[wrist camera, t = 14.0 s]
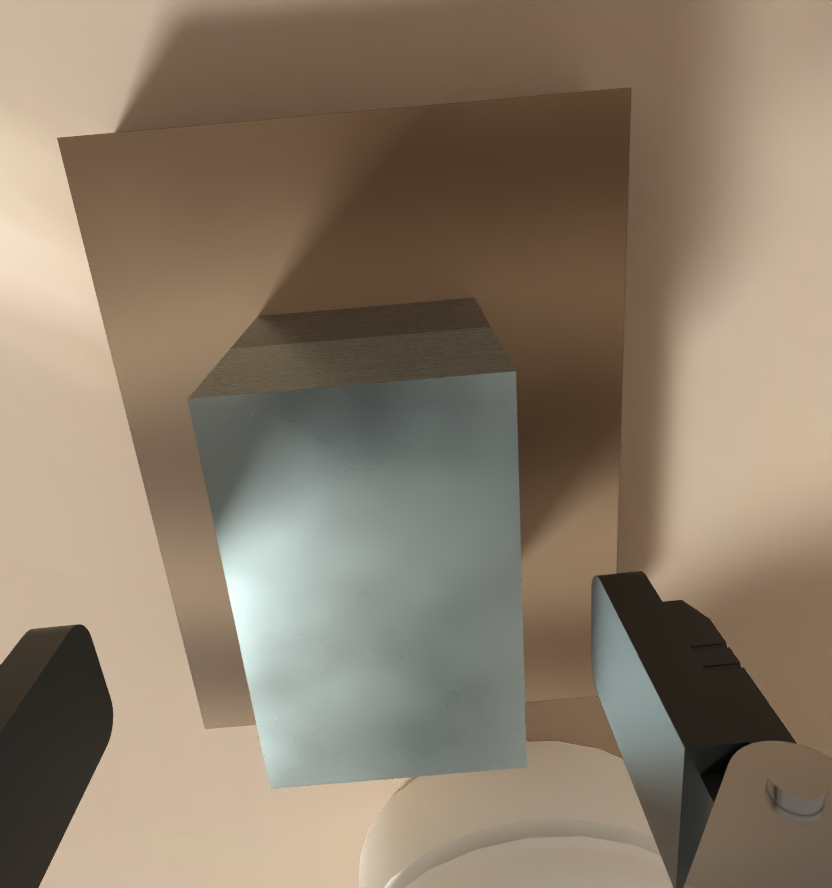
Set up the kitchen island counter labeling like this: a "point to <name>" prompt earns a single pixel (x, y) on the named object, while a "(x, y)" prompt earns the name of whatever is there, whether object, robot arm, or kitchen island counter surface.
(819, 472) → the kitchen island counter surface
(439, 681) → the block
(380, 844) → the honey pot
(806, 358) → the kitchen island counter surface
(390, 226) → the walnut stand
